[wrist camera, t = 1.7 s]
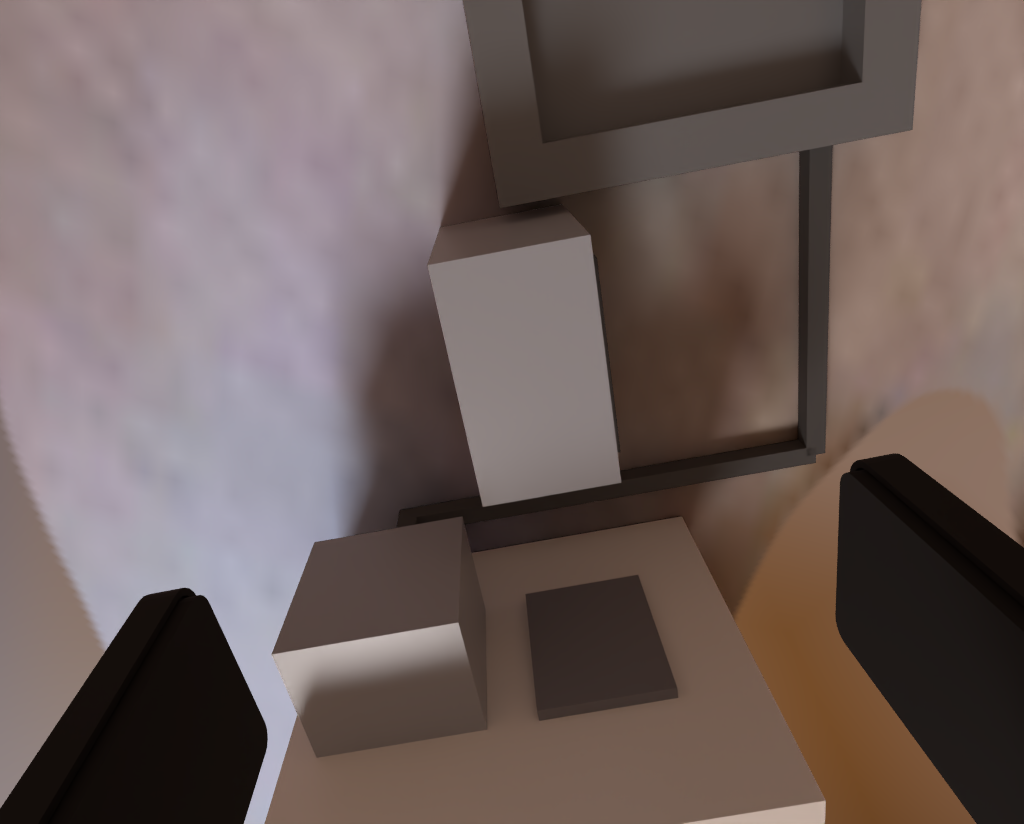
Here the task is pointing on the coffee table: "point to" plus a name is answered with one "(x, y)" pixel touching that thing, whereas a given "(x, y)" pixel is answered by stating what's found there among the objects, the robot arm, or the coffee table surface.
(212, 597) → the coffee table surface
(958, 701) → the robot arm
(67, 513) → the coffee table surface
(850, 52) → the charging cradle
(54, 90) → the coffee table surface
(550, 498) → the dark piece
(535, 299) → the grey rectangular block
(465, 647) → the plate
